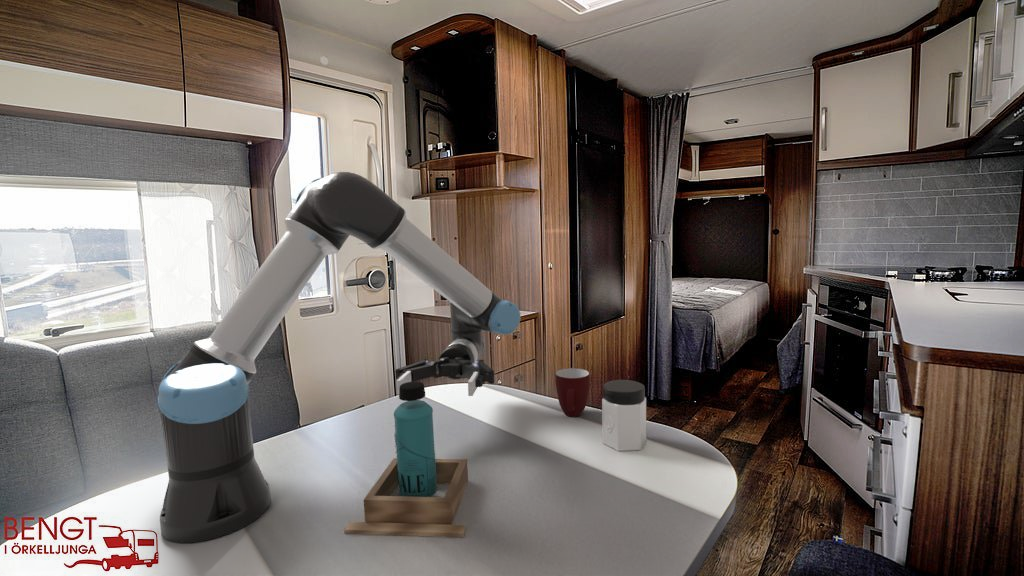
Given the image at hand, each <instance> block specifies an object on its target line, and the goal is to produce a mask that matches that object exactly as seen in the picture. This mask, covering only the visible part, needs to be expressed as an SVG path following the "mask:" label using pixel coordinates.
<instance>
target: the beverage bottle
mask: <svg viewBox="0 0 1024 576" xmlns="http://www.w3.org/2000/svg"><path fill="white" fill-rule="evenodd" d="M425 397H426V390H425V384H424V383H423V382H421V381H413V382H407V383H404V384H401V385H400V387H399V395H398V399H399V400H400V401H404V402H402V403H400V404H399V405H398V406H397V408H395V410H394V412H393V419H394V425H393V426H394V431H393V432H394V444H395V450H396V451H395V453H396V458H397V459H396V460H397V462H396V463H397V465H396V466H398V474H397V476H398V478H397V481H398V486H397V488H398V489H397V490H398V491H399V492H398V494H399V496H407V497H434V496H435V494H436V493H437V490H438V484H437V483H438V481H437V475H436V470H437V469H436V467H437V466H436V462H435V459H436V455H437V454H436V452H435V451H436V450H435V437H434V436H435V435H434V419H433V417H434V416H433V413H434V412H433V411H434V409H433V407H432V406H431V405H430V404H429V403H428V402H426V401H425V400H421V399H424V398H425Z"/></svg>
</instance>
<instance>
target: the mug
mask: <svg viewBox="0 0 1024 576" xmlns="http://www.w3.org/2000/svg"><path fill="white" fill-rule="evenodd" d="M554 377H555V378H554V382H555V390H556V395H557V399H558V404H559V406H560V408H561V410H562V412H563V414H564V415H565V416H567V417H571V418H576V417H579V416H581V415H582V414H583V413H584V410H585V408H586V406H587V404H588V398H589V392H590V385H591V382H590V381H591V379H590V372H589V370H586V369H583V368H575V367H574V368H573V367H569V368H562V369H561V368H560V369H558V370H556V371H555V373H554Z"/></svg>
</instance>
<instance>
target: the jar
mask: <svg viewBox="0 0 1024 576" xmlns="http://www.w3.org/2000/svg"><path fill="white" fill-rule="evenodd" d="M602 390H603V391H602V392H603V393H602V394H603V397H602V399H601V422H602V423H601V426H602V427H601V429H602V434H601V435H602V436H601V437H602V439H601V440H602V444H604V445H606V446H607V447H610V448H611V449H613V450H615V451H617V452H625V451H630V452H631V451H641V450H642V449H643V446H644V445H645V443H646V442H647V396H645V395H646V392H645V391H646V388H645V385H644V384H643V383H641V382H640V381H639V382H638V381H636V380H630V379H614V380H610V381H606V382H605V383H604V384H603V389H602Z"/></svg>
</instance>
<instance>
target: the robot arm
mask: <svg viewBox="0 0 1024 576" xmlns="http://www.w3.org/2000/svg"><path fill="white" fill-rule="evenodd" d="M284 226H285V229H286V230H285V232H284V234H283V235H282V237H281V238H280V239H279V241H278V242H277V244H276V245H275V246H274V247H273V249H272V250H271V252H270V253H269V254H268V256H267V257H266V259H265V260H264V262H263V263H262V264H261V265H260V267H259V268H258V270H257V271H256V272H255V274H254V275H253V276H252V278H251V280H250V281H249V282H248V283H247V284H246V286H245V288H244V289H243V290H242V292H241V293H240V295H239V296H238V297H237V299H236V300H235V301H234V303H233V304H232V305H231V307H230V308H229V310H228V312H227V313H226V314H225V315H224V317H223V318H222V319H221V321H220V322H219V323H218V325H217V326H216V328H215V329H214V330H213V331H212V333H211V334H210V335H209V336H208V337H207V338H204V339H199V340H195V341H194V342H193V344H192V345H190V347H189V349H188V351H187V352H186V353H185V354H184V356H183V357H182V359H181V360H179V361H178V362H177V363H175V364H173V366H172V367H171V368H170V369H168V371H167V372H166V373H165V375H164V376H163V377H162V380H161V381H160V384H159V386H158V396H157V406H158V408H159V410H160V418H161V427H162V435H163V441H164V448H165V449H164V450H165V457H166V465H167V471H168V483H167V487H166V491H165V493H164V494H165V495H164V499H163V504H162V508H161V511H160V515H159V523H160V525H159V526H160V532H161V535H162V537H163V538H164V539H166V540H168V541H170V542H175V543H188V544H189V543H197V542H203V541H204V542H205V541H209V540H212V539H216V538H220V537H222V536H226V535H228V534H231V533H234V532H235V531H238V530H240V529H242V528H244V527H246V526H248V525H250V524H251V523H253V522H254V521H256V520H257V519H258V518H259V517H261V516H262V515H263V514H264V513H265V512H266V511H267V510H268V508H269V506H270V505H271V500H272V499H271V498H272V497H271V490H270V489H271V488H270V485H269V483H268V481H267V480H266V479H265V477H264V475H263V473H262V470H261V468H260V466H259V464H258V462H257V460H256V457H255V450H254V440H253V438H254V437H253V431H252V421H251V412H250V411H251V410H250V403H249V392H250V386H249V384H250V382H251V381H252V379H253V378H254V376H255V375H256V373H257V368H256V363H255V361H256V358H257V356H258V355H259V354H260V352H261V351H262V350H263V349H264V346H265V345H266V344H267V342H268V341H269V339H271V336H272V334H273V333H274V332H275V330H277V328H278V326H279V325H280V323H281V322H282V320H283V319H284V317H286V315H287V313H288V312H289V310H290V309H291V307H292V306H293V304H294V303H295V301H296V300H297V298H298V297H299V296H300V294H301V293H302V291H303V290H304V289H305V287H306V285H307V284H308V283H309V281H310V280H311V278H312V276H313V275H314V274H315V272H316V271H317V269H318V268H319V266H320V265H321V264H322V263H323V261H324V259H325V258H326V256H329V255H333V254H334V255H335V254H338V253H339V252H340V250H341V248H342V247H343V246H344V244H345V243H346V241H347V239H348V238H349V236H351V237H354V238H356V239H358V240H360V241H362V242H363V243H365V244H366V245H367V246H369V247H370V248H371V249H373V250H376V249H381V250H383V251H384V252H385V253H386V254H388V255H389V256H390V257H391V258H392V259H394V260H396V261H397V262H398V263H400V264H401V265H402V266H403V267H404V268H406V269H407V270H408V271H410V272H411V273H413V274H414V275H415V276H416V277H417V278H418V279H420V280H422V281H423V282H424V283H425V284H427V286H429V287H430V288H431V289H433V290H434V291H435V292H437V293H438V294H439V295H441V297H444V299H446V300H447V301H449V307H450V312H449V313H450V323H451V324H450V326H451V327H450V328H451V331H450V333H451V343H450V344H449V345H448V346H447V347H446V348H445V349H444V350H443V351H442V352H441V353H440V355H439V357H438V359H437V360H433V361H430V362H429V359H428V358H424V359H421V360H420V361H417V362H414V363H410V364H409V365H405V366H402V367H399V368H396V369H395V370H394V373H395V375H394V376H395V382H396V395H398V396H399V387H400V385H401V384H404V383H407V382H418V381H420V380H425V379H429V378H433V379H438V378H441V377H444V378H448V379H451V380H461V379H468V381H467V391H468V397H473V396H474V395H475V393H476V391H477V389H478V388H481V387H483V385H485V383H486V382H487V384H489V385H490V384H491V385H493V384H495V370H494V369H493V368H492V367H490V366H489V365H487V364H486V362H485V359H481V358H482V355H483V353H484V350H485V340H484V338H483V336H482V332H483V331H485V332H489V333H493V334H494V335H504V336H506V335H511V334H512V333H514V332H515V331H516V330H517V329H518V327H519V324H520V322H521V312H520V311H521V310H520V308H519V307H518V306H517V304H516V303H514V302H512V301H509V300H507V299H502V298H501V297H499V296H498V295H497V294H496V293H495V292H493V291H492V290H490V289H489V288H488V287H487V286H486V285H485V284H483V283H482V281H480V279H477V278H476V277H475V276H474V275H473V274H472V273H471V272H470V271H468V270H467V269H466V268H465V267H464V266H462V265H461V264H460V263H459V262H458V261H457V260H455V259H454V258H453V256H451V255H450V254H449V253H447V252H446V251H445V250H444V249H443V248H442V247H440V246H439V245H438V244H437V243H435V241H433V240H432V239H431V238H430V237H428V235H427V234H425V233H424V232H423V231H422V230H421V229H419V228H418V227H417V226H416V225H415V224H414V223H412V222H411V221H410V220H409V219H408V218H407V211H406V210H405V209H404V208H403V207H402V206H401V205H399V203H397V202H396V201H395V200H394V199H393V198H392V197H390V196H389V195H388V194H387V193H386V192H385V191H383V190H382V189H381V188H380V187H378V186H377V185H376V184H375V183H373V182H372V181H370V180H369V179H367V178H365V177H364V176H362V175H360V174H357V173H355V172H350V171H339V172H338V171H337V172H334V173H331V174H329V175H326V176H324V177H319V178H316V179H314V180H312V181H310V182H308V183H306V185H304V187H303V188H302V189H301V190H300V191H299V193H298V194H297V197H296V201H295V204H294V206H293V207H292V209H291V210H290V212H289V213H288V214H287V215H286V217H285V218H284Z"/></svg>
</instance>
